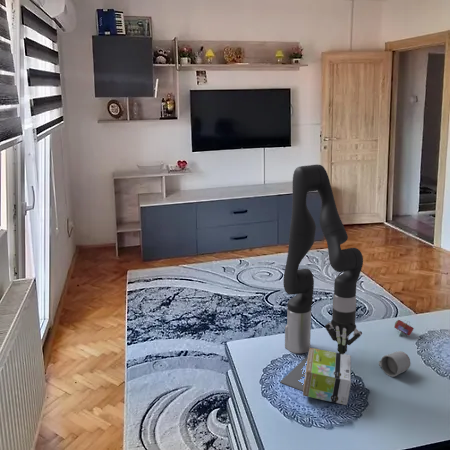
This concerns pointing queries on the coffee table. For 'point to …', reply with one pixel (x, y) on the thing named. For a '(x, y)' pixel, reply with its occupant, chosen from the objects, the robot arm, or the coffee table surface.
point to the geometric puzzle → (403, 327)
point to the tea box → (327, 376)
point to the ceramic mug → (395, 363)
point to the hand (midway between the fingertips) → (342, 353)
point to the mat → (295, 376)
